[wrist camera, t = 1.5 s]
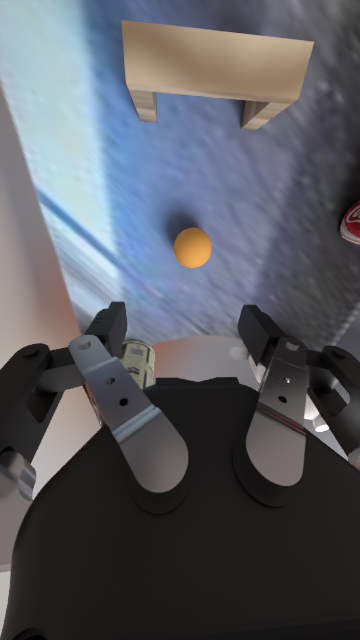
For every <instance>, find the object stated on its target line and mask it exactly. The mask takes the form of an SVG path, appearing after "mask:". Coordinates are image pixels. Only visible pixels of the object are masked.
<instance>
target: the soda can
mask: <svg viewBox="0 0 360 640" xmlns="http://www.w3.org/2000/svg"><path fill="white" fill-rule="evenodd" d="M340 232H341V236H342V237H343V238H344V239H345V240H347V241H349V242H352V243H354V244H358V245H360V200H359V201H358V202H356V203H355V204H354V205H353V206H352V207H351V208H350V209H349V210H348V212H347V213H346V215H345V216H344V218H343V220H342V223H341V227H340Z"/></svg>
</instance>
